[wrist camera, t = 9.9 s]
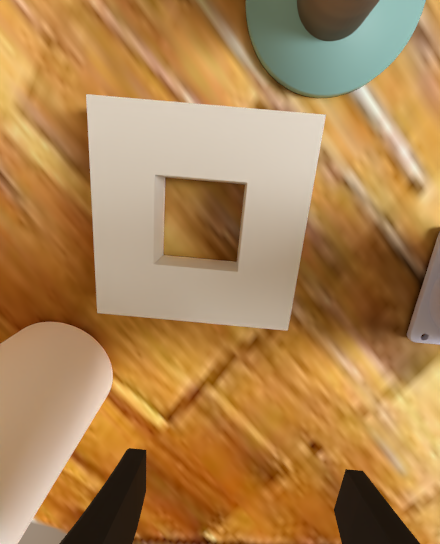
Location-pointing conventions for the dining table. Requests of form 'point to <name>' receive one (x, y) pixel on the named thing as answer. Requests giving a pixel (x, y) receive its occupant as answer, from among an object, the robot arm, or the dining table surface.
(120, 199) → the block
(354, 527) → the robot arm
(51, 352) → the beverage can
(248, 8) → the teal pad
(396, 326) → the dining table surface
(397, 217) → the dining table surface
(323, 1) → the walnut dowel
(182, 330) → the dining table surface
